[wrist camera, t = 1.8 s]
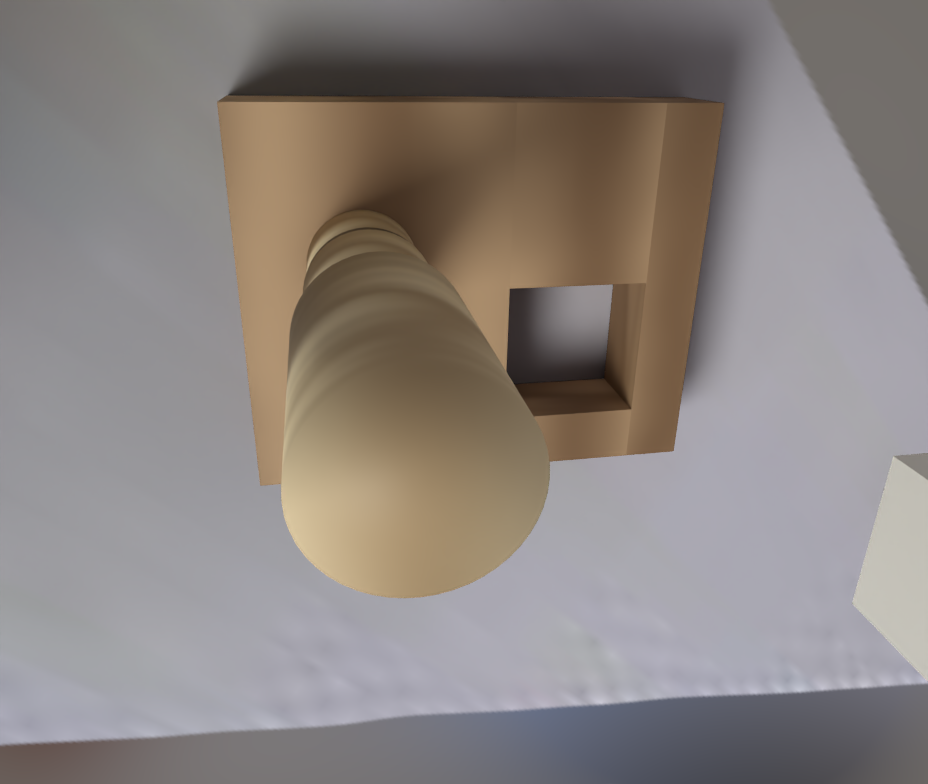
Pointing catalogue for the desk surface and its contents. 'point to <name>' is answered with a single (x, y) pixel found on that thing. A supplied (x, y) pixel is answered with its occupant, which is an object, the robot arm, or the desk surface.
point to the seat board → (488, 232)
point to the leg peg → (400, 423)
